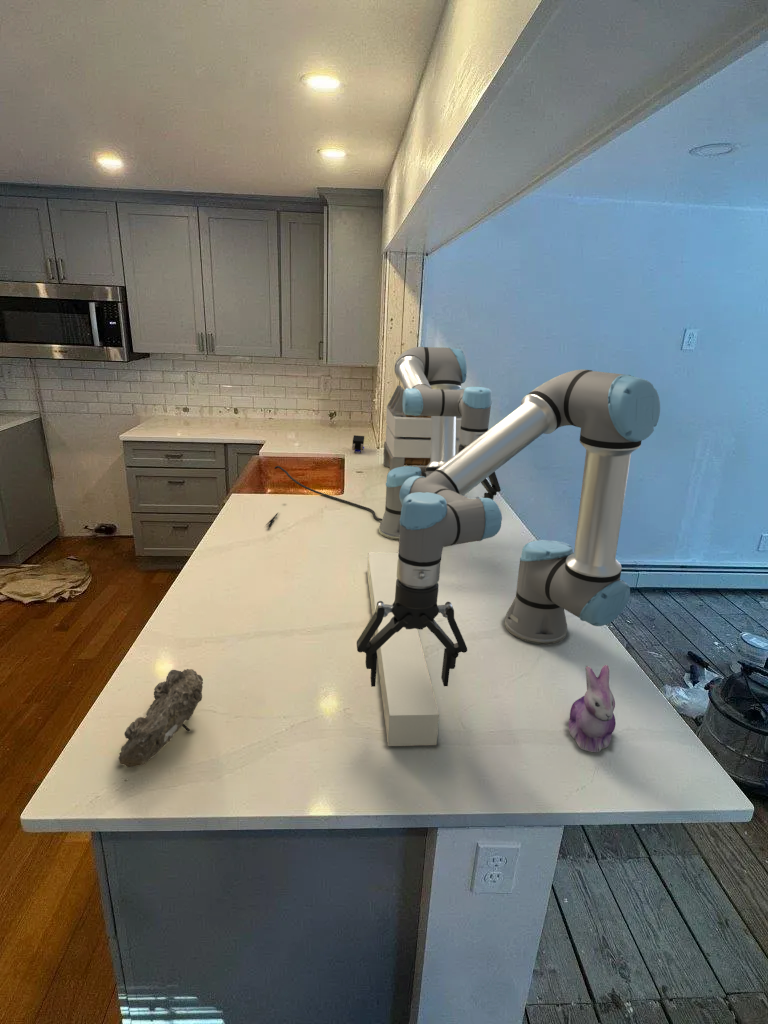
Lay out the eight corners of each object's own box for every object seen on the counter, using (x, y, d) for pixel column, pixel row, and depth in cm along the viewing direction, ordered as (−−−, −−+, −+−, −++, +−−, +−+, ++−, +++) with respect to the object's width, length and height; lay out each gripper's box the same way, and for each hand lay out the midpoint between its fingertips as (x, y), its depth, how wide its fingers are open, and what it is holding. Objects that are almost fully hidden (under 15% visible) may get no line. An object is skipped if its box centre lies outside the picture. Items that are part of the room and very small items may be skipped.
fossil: (153, 670, 114) (204, 637, 109) (187, 701, 117) (238, 670, 112) (92, 760, 94) (152, 726, 89) (135, 795, 97) (195, 763, 92)
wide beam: (367, 572, 170) (368, 552, 167) (396, 573, 170) (398, 552, 168) (387, 746, 103) (389, 715, 101) (436, 745, 104) (439, 714, 101)
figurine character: (364, 456, 305) (364, 447, 319) (364, 443, 302) (364, 434, 315) (351, 456, 305) (352, 446, 318) (351, 443, 302) (352, 434, 315)
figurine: (594, 762, 101) (608, 692, 96) (553, 726, 109) (565, 660, 104) (630, 746, 105) (646, 678, 100) (588, 712, 114) (601, 648, 109)
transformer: (382, 463, 289) (386, 382, 275) (445, 464, 293) (451, 384, 279) (390, 482, 257) (394, 392, 243) (460, 483, 261) (468, 394, 247)
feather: (285, 507, 224) (287, 503, 224) (267, 531, 198) (270, 526, 197) (281, 504, 224) (284, 500, 223) (263, 528, 197) (265, 524, 197)
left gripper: (439, 450, 147) (433, 526, 154) (518, 445, 157) (509, 517, 164) (425, 444, 154) (420, 517, 161) (503, 439, 163) (495, 509, 170)
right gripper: (347, 589, 95) (342, 694, 102) (492, 591, 97) (478, 694, 104) (346, 569, 102) (342, 670, 109) (481, 572, 104) (469, 670, 111)
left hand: (465, 517), depth 162 cm, fingers open, 13 cm apart
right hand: (408, 682), depth 107 cm, fingers open, 13 cm apart
